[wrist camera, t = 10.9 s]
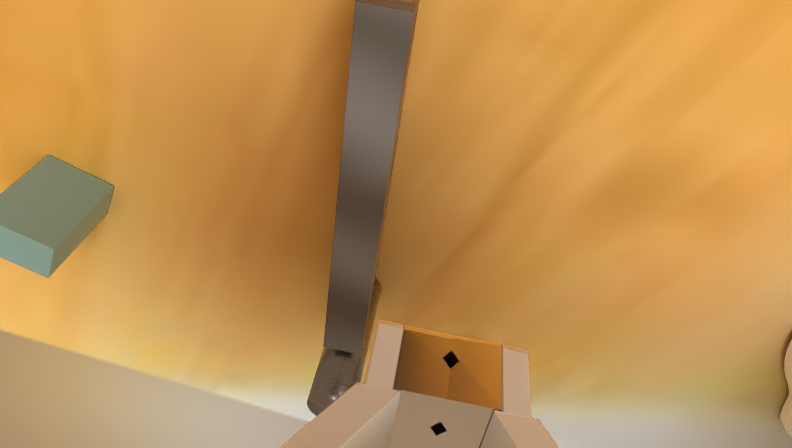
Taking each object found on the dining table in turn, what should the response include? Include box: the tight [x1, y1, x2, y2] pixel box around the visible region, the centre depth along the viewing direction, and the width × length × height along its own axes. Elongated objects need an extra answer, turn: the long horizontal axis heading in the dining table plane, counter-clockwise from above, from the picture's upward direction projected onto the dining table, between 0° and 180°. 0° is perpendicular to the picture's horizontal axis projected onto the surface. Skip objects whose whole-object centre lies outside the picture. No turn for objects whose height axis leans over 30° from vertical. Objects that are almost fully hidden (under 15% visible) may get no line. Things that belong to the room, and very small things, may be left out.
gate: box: [323, 0, 419, 355], centre depth 28 cm, size 18×2×6 cm, turn 172°
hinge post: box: [307, 278, 381, 416], centre depth 34 cm, size 2×2×9 cm
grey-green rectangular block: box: [0, 155, 114, 278], centre depth 33 cm, size 4×2×6 cm, turn 62°
